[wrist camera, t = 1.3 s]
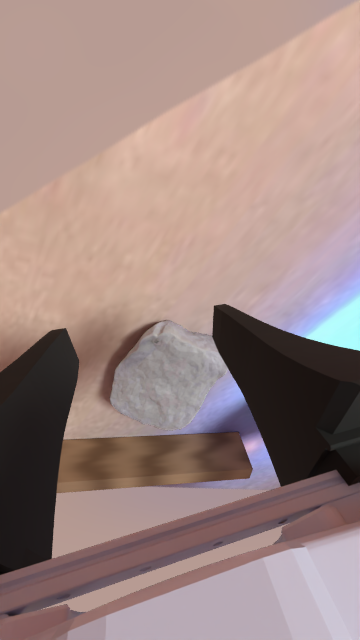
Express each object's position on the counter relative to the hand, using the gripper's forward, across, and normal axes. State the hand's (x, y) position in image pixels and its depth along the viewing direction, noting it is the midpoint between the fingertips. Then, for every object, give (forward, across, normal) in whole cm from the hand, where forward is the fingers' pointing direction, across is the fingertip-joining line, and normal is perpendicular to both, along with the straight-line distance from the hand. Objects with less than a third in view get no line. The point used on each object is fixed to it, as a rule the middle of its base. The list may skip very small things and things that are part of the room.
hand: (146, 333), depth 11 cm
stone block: (+9, -1, +11) cm, 15 cm away
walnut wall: (+8, +1, +24) cm, 25 cm away
